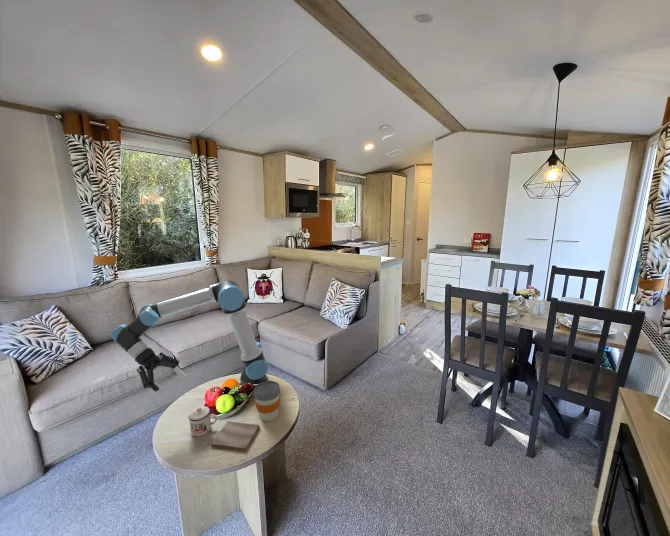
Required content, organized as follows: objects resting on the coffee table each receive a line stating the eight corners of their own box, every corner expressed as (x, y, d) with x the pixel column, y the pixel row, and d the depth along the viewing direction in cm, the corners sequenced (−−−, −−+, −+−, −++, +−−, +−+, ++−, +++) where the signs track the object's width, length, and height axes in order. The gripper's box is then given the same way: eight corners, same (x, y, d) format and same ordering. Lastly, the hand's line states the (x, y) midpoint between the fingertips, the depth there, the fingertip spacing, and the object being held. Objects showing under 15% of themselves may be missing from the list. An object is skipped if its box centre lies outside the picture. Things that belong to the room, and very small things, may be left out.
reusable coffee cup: (250, 420, 144) (248, 393, 141) (264, 404, 156) (262, 378, 153) (273, 426, 140) (271, 398, 137) (286, 409, 152) (284, 383, 149)
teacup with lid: (187, 438, 133) (184, 415, 131) (193, 424, 142) (191, 402, 140) (215, 434, 135) (213, 412, 133) (220, 421, 144) (217, 399, 142)
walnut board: (227, 423, 142) (227, 421, 142) (259, 427, 139) (259, 424, 139) (211, 446, 128) (210, 443, 128) (245, 451, 126) (245, 448, 125)
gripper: (157, 345, 149) (187, 375, 149) (113, 372, 124) (150, 407, 125) (165, 336, 147) (196, 366, 147) (122, 361, 123) (159, 397, 123)
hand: (175, 385), depth 136 cm, fingers open, 13 cm apart
